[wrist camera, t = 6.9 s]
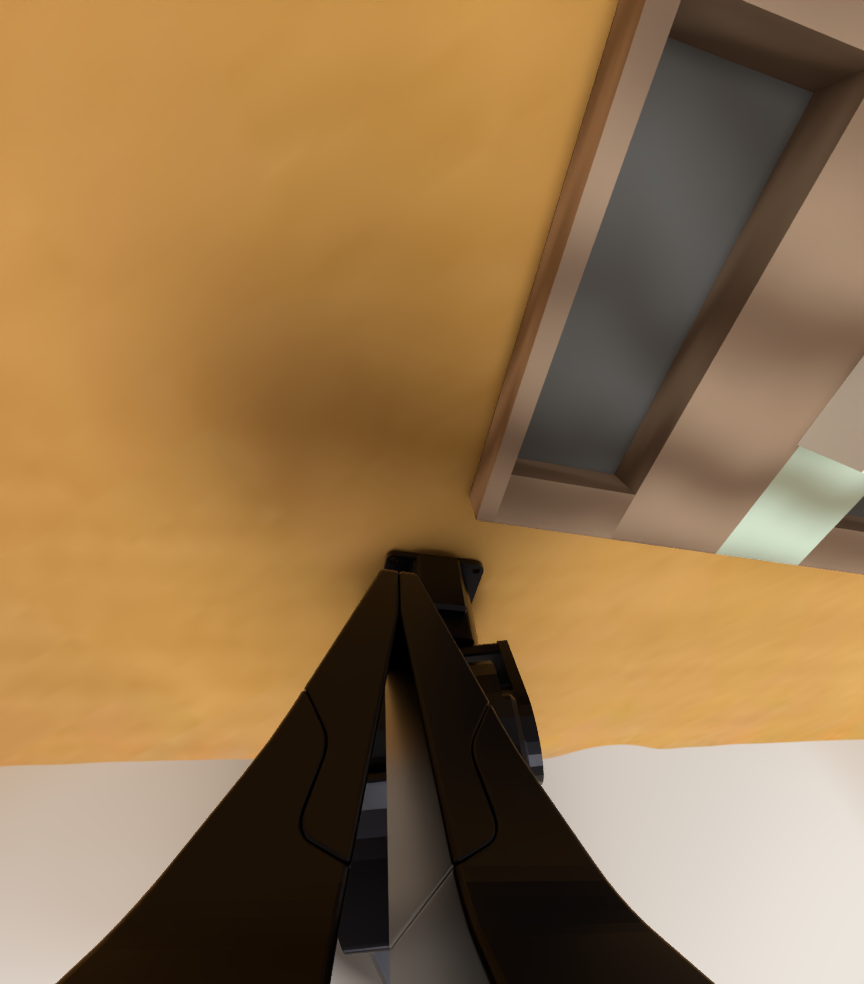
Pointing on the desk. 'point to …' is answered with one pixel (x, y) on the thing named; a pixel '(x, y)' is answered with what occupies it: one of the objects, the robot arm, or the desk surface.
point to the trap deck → (698, 293)
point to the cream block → (841, 424)
